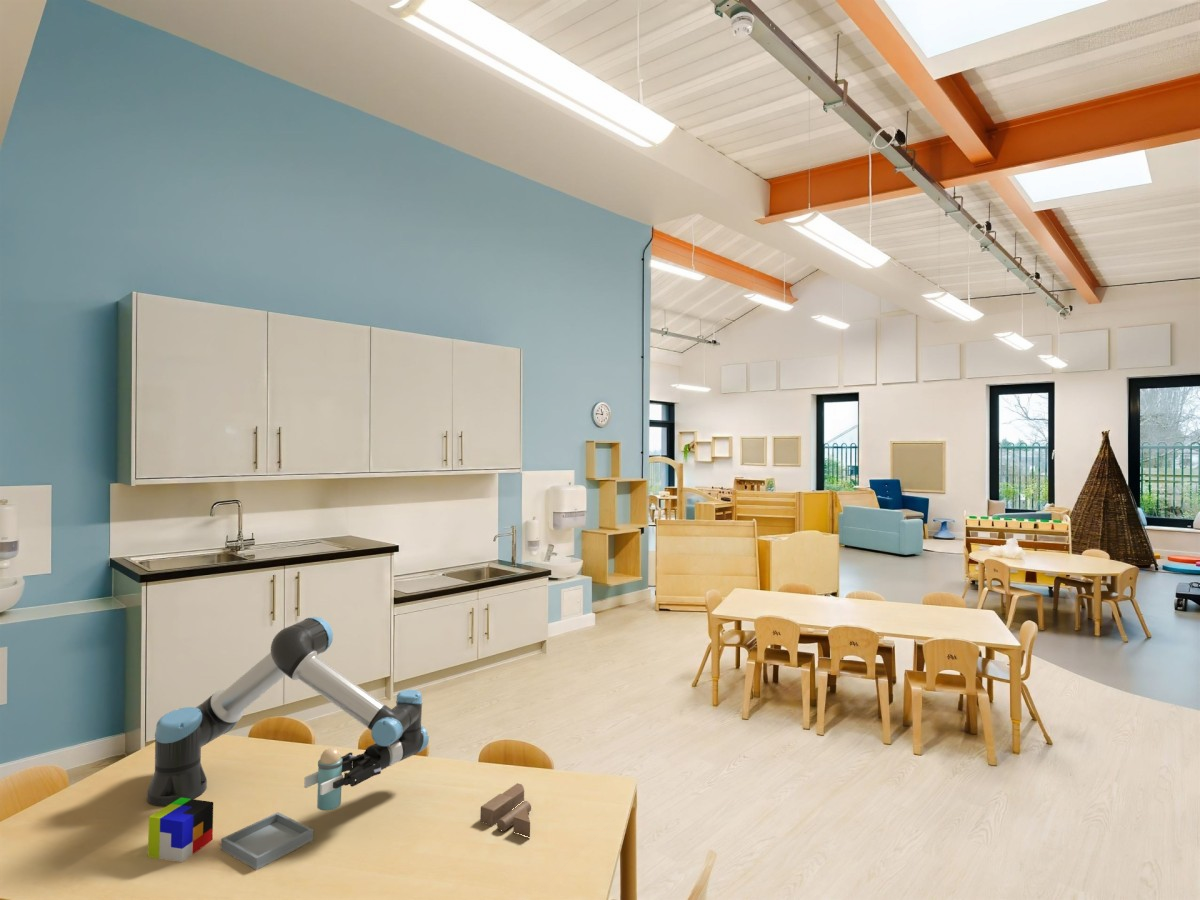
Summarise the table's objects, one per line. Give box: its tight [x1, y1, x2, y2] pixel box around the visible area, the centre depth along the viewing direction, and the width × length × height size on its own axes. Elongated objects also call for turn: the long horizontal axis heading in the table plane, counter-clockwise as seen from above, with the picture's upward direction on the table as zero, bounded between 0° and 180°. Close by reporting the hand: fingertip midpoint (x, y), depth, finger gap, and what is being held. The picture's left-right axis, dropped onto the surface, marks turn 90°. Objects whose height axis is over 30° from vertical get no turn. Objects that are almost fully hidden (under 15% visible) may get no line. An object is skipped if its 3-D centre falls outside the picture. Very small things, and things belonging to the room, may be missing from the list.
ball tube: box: [316, 747, 343, 811], centre depth 184 cm, size 6×6×15 cm
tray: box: [220, 812, 314, 871], centre depth 177 cm, size 16×16×3 cm
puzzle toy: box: [147, 798, 214, 863], centre depth 175 cm, size 10×10×10 cm
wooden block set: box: [479, 782, 532, 838], centre depth 193 cm, size 17×6×18 cm
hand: (313, 786), depth 180 cm, fingers closed on ball tube, 6 cm apart
